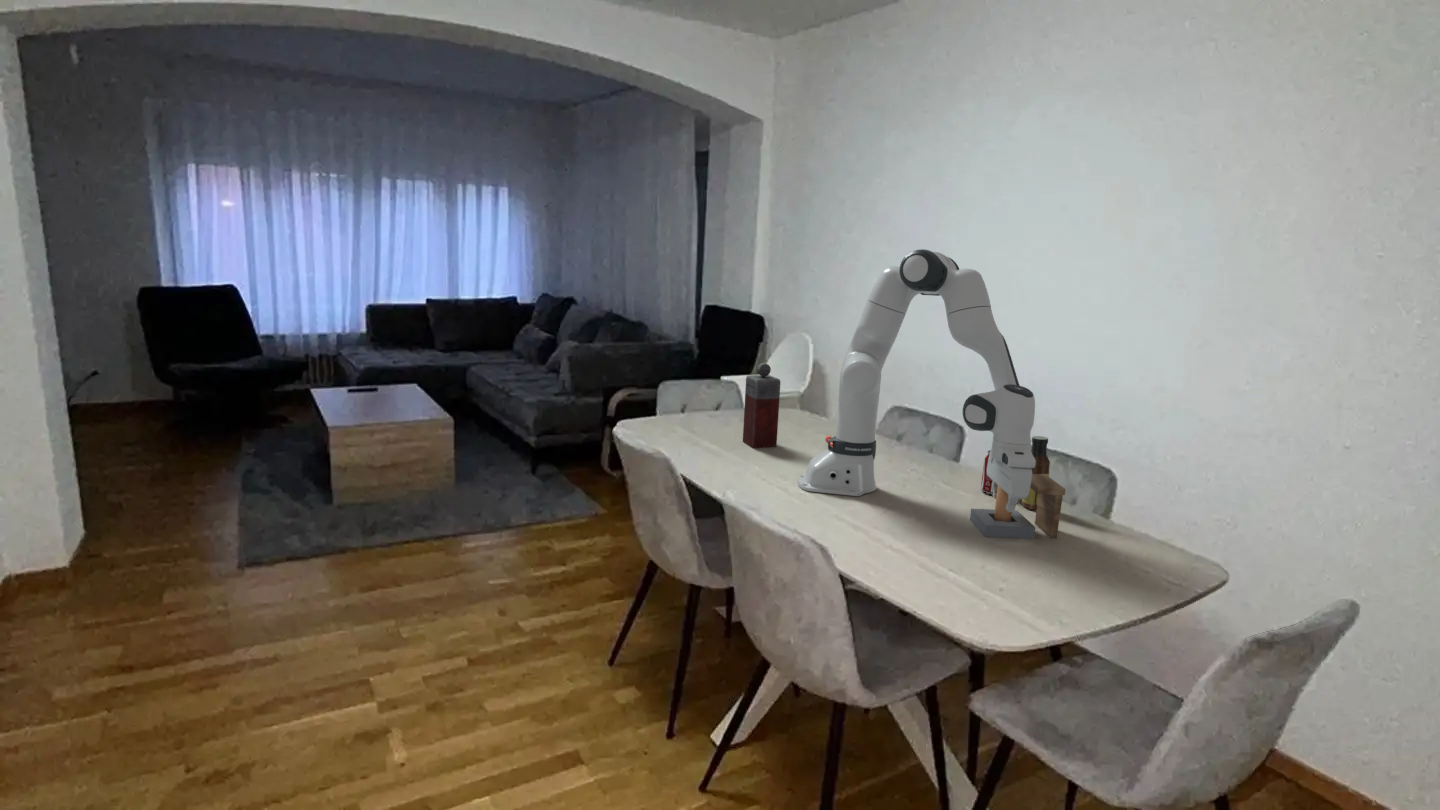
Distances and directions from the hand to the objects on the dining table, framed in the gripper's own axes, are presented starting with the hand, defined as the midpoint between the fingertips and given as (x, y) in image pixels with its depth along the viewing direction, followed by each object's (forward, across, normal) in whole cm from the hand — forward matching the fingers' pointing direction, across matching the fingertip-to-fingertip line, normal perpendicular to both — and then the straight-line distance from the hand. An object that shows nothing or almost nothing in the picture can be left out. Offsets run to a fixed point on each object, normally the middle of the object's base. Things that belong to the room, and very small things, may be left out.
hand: (1003, 504), depth 197 cm
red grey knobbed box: (+7, -74, -58) cm, 94 cm away
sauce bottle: (+7, -18, +15) cm, 25 cm away
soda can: (+7, -30, +8) cm, 32 cm away
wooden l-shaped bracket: (+6, 0, +9) cm, 11 cm away
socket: (+6, 0, 0) cm, 6 cm away
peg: (+6, 0, 0) cm, 6 cm away
